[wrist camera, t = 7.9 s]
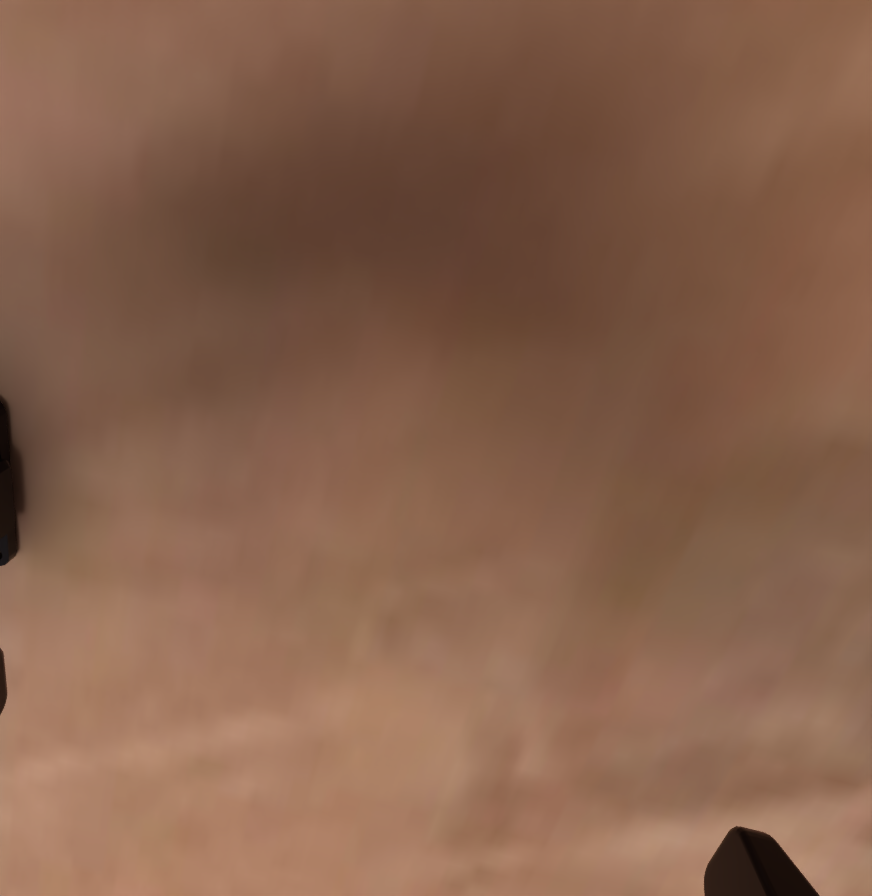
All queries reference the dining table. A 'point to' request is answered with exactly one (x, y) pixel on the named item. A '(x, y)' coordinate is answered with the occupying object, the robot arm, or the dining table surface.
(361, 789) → the dining table surface
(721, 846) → the robot arm
